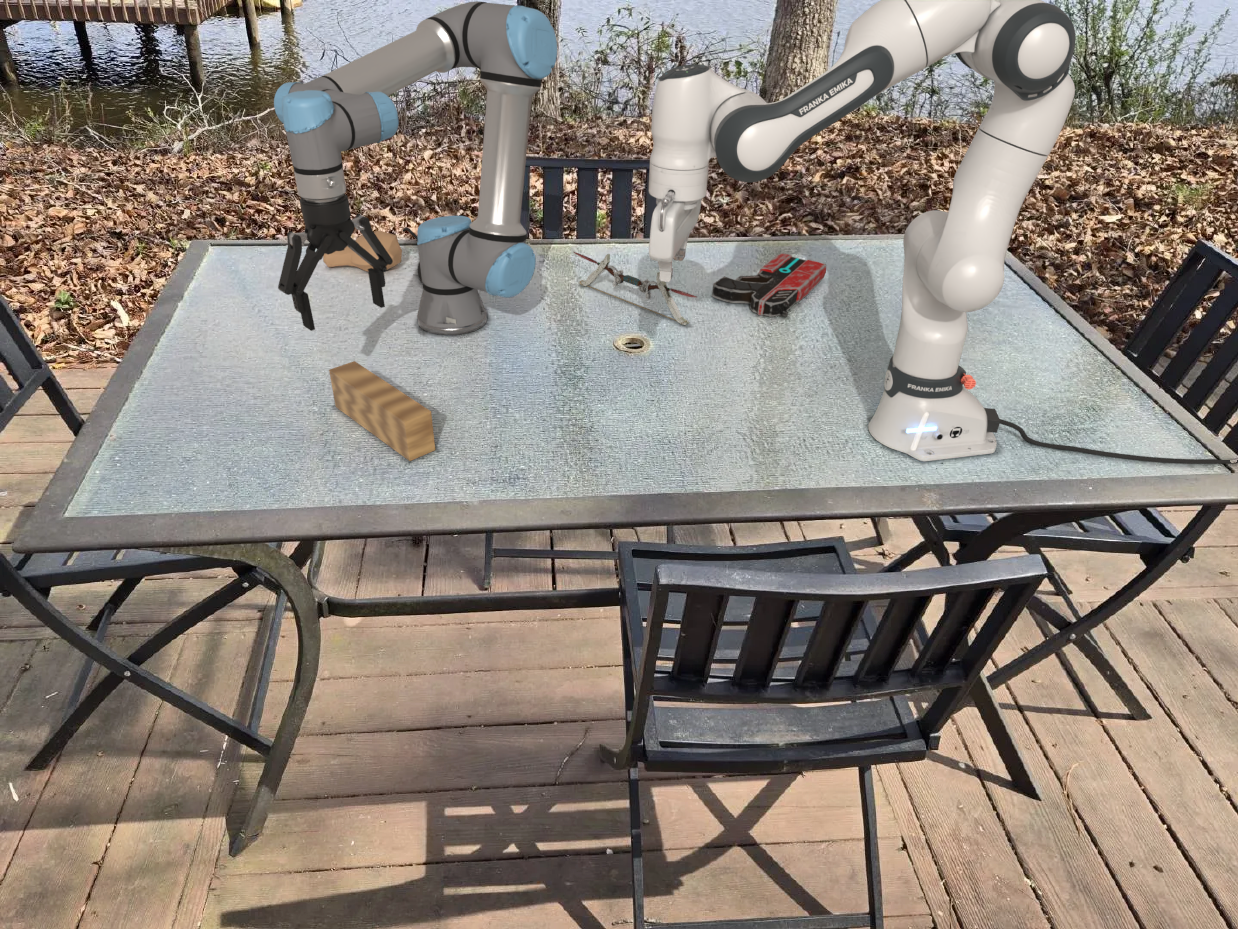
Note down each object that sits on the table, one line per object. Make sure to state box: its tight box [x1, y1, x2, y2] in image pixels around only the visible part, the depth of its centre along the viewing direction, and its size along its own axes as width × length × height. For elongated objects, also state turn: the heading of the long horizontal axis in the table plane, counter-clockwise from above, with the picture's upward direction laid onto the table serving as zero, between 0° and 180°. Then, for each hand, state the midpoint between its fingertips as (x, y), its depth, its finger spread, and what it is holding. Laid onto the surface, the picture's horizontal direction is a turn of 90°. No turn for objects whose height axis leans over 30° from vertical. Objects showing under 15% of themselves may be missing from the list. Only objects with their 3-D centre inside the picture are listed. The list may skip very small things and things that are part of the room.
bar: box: [328, 360, 436, 462], centre depth 156 cm, size 25×5×8 cm, turn 44°
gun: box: [711, 252, 827, 318], centre depth 215 cm, size 4×31×19 cm
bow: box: [573, 251, 698, 326], centre depth 205 cm, size 39×2×10 cm, turn 47°
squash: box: [322, 230, 403, 272], centre depth 220 cm, size 11×20×9 cm, turn 90°
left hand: (345, 316), depth 154 cm, fingers open, 13 cm apart
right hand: (672, 269), depth 140 cm, fingers open, 8 cm apart
